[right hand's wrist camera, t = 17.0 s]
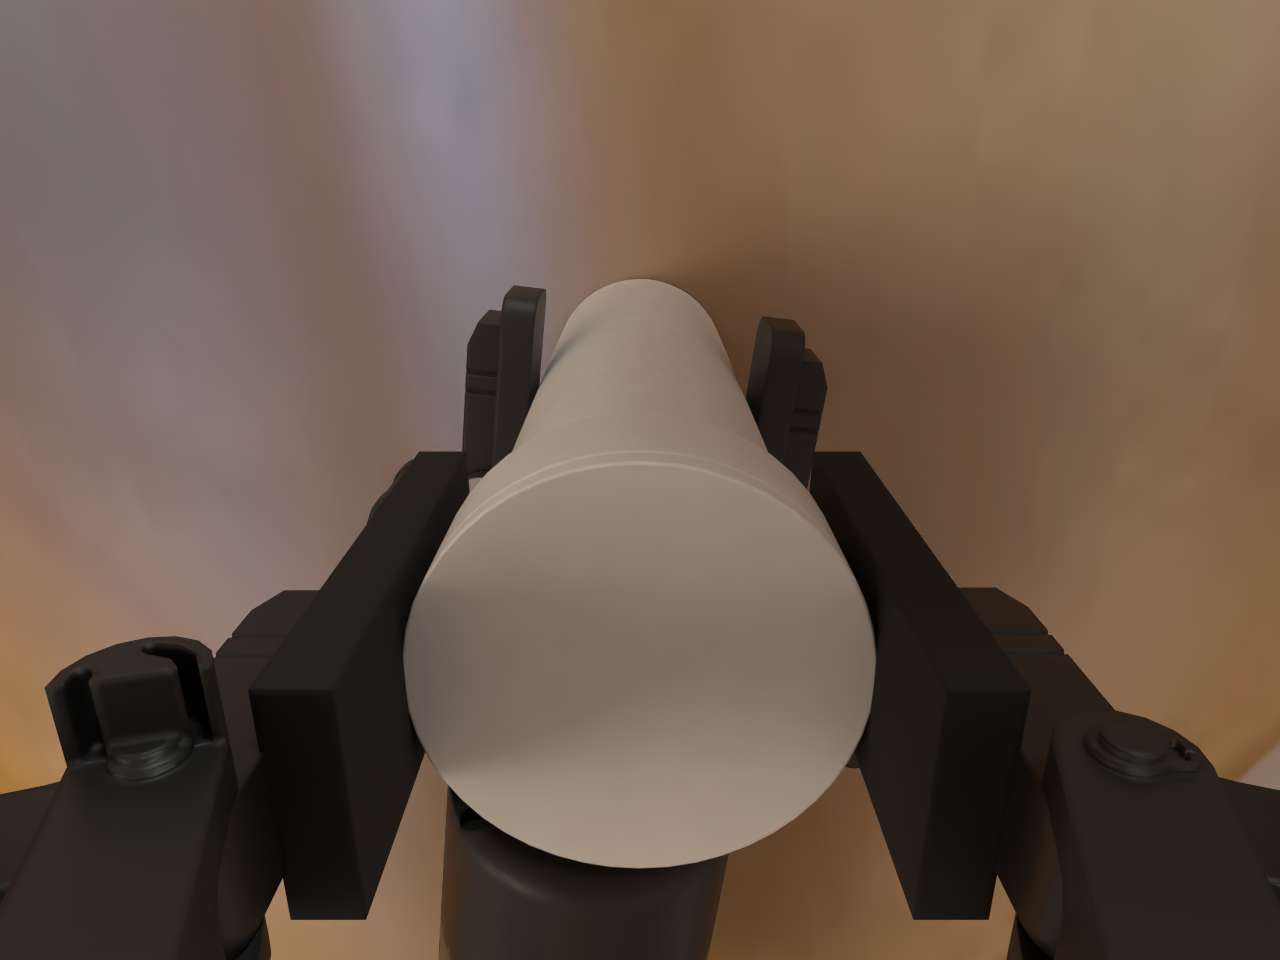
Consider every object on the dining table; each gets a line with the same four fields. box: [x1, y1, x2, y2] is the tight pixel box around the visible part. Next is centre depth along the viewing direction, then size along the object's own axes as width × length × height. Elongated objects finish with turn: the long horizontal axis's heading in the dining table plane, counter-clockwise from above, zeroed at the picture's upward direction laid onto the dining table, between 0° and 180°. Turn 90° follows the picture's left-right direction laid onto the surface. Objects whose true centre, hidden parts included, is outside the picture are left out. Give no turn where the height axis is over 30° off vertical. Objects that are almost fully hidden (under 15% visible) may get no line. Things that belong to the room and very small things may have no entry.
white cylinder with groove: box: [403, 412, 877, 868], centre depth 11 cm, size 6×6×2 cm
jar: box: [512, 279, 768, 452], centre depth 18 cm, size 5×5×16 cm
